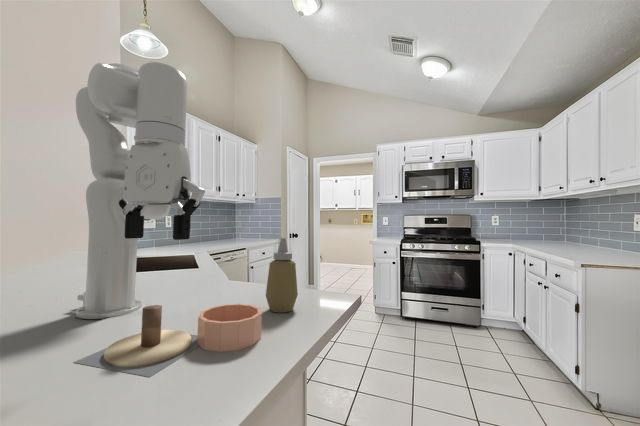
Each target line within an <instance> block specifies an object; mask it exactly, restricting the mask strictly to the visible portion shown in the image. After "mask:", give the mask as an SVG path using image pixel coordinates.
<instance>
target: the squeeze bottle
mask: <svg viewBox="0 0 640 426" xmlns="http://www.w3.org/2000/svg"><path fill="white" fill-rule="evenodd" d="M278 245H279V246H278V250H277V251H276V252H273V260H272V261H271V262H269V265H268V266H269V267H268V274H267V275H268V276H267V280H266V281H267V283H266V290H265V298H266V301H267V305H268V308H269V310H270V311H271V312H273V313H288V312H291V311H293V310H294V307H295V303H296V301H297V298H298V294H299V293H298V283H297V280H298V279H297V266H296V262H295V261H293V260H292V259H293V253H292V252H289V249H288V244H287V238H285V237H284V238H280V242H279V244H278Z"/></svg>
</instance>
